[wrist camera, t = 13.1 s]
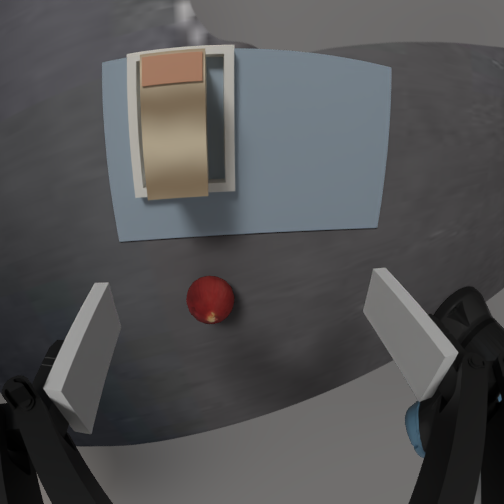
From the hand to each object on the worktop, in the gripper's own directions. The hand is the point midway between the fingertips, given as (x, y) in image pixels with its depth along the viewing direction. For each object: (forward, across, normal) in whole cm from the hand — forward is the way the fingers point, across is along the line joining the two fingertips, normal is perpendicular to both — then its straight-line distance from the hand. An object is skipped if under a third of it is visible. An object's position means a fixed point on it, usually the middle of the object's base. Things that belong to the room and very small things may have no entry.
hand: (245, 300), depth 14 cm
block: (+22, +4, -8) cm, 24 cm away
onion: (+23, +2, +13) cm, 26 cm away
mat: (+22, -3, -5) cm, 23 cm away
